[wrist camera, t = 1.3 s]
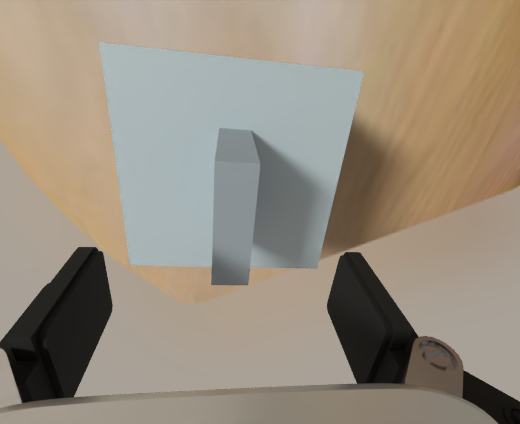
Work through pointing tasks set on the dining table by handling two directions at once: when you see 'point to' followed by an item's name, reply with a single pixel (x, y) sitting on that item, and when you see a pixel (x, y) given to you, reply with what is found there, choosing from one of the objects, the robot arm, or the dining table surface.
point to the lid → (226, 157)
